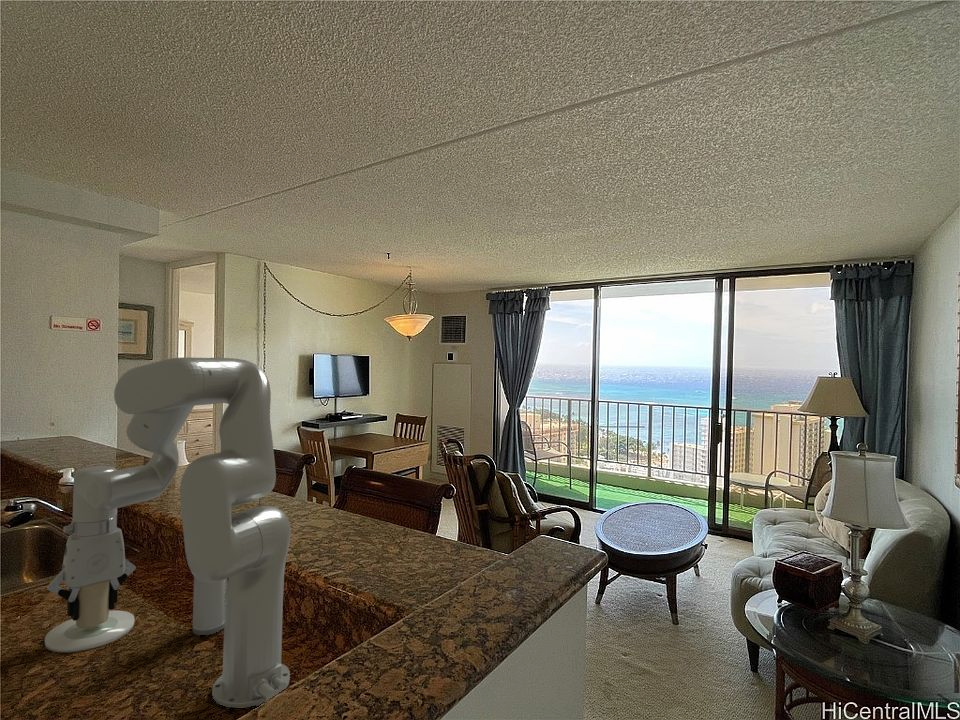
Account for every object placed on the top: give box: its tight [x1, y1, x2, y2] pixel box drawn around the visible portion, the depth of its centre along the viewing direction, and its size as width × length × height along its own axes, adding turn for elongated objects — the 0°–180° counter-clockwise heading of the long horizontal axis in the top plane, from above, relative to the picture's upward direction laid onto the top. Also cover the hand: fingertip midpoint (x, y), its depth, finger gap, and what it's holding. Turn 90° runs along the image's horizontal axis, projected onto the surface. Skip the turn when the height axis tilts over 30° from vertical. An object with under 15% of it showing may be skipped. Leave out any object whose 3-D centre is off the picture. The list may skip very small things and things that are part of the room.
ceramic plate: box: [44, 609, 136, 653], centre depth 108 cm, size 15×15×1 cm
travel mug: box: [192, 575, 228, 636], centre depth 111 cm, size 6×7×20 cm
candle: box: [76, 580, 110, 628], centre depth 108 cm, size 6×6×10 cm
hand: (92, 611), depth 108 cm, fingers closed on candle, 5 cm apart
